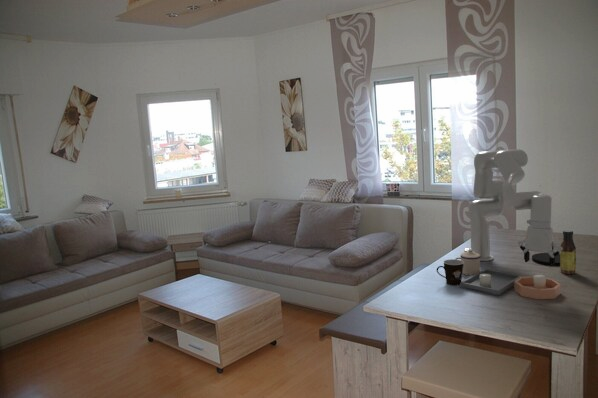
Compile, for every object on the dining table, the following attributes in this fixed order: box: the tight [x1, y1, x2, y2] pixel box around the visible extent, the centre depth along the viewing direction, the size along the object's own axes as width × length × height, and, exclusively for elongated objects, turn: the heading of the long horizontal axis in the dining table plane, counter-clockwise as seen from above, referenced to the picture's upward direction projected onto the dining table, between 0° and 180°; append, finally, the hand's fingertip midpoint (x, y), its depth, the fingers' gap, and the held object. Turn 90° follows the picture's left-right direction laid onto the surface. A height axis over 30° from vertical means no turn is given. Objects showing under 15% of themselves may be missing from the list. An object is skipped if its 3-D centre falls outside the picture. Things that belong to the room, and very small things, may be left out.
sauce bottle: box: [559, 229, 577, 275], centre depth 208 cm, size 7×6×20 cm
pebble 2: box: [533, 274, 547, 289], centre depth 191 cm, size 5×5×5 cm
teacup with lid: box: [454, 248, 481, 277], centre depth 218 cm, size 12×9×12 cm
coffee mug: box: [436, 258, 464, 287], centre depth 206 cm, size 12×9×10 cm
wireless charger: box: [531, 252, 560, 267], centre depth 229 cm, size 18×18×2 cm
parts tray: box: [459, 268, 523, 297], centre depth 201 cm, size 17×24×2 cm
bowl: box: [513, 275, 562, 300], centre depth 189 cm, size 16×16×4 cm
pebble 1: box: [480, 274, 491, 288], centre depth 197 cm, size 5×5×5 cm
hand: (539, 263), depth 190 cm, fingers open, 9 cm apart
